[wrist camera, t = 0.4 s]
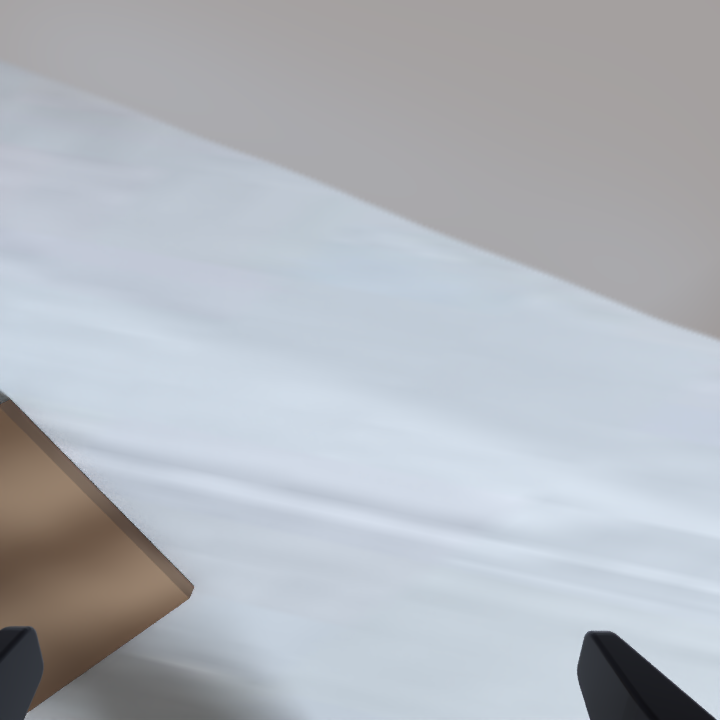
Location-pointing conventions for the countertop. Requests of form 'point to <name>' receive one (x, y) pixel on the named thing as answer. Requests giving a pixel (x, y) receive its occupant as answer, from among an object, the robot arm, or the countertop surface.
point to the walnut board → (71, 559)
